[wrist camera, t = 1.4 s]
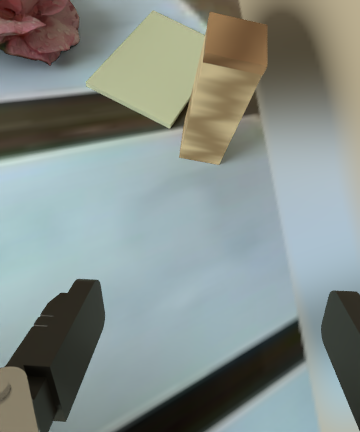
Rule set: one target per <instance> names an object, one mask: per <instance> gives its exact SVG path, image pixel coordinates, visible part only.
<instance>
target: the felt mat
mask: <svg viewBox="0 0 360 432" xmlns="http://www.w3.org/2000/svg"><path fill="white" fill-rule="evenodd" d="M204 38H205V35H203V34H201V33H199V32H197V31H195V30H193V29H190V28H188V27H186V26H184V25H182V24H180V23H178V22H176V21H174V20H172V19H170V18H168V17H166V16H164V15H162V14H159V13H157V12H155V11H152V12H151V13H150V14H149V15H148V16H147V17H146V18H145V20H144V21H143V22H142V23H141V24H140V25H139V26H138V27H137V28H136V29H135V30H134V31H133V32H132V33H131V34H130V35H129V37H128V38H127V39H126V40H125V41H124V42H123V43H122V44H121V45H120V46H119V47H118V48H117V49H116V50H115V51H114V53H113V54H112V55H111V56H110V57H109V58H108V59H107V60H106V61H105V62H104V63H103V64H102V65H101V66H100V67H99V68H98V70H97V71H96V72H95V73H94V74H93V75H92V76H91V77H90V78H89V79H88V80H87V81H86V86H87V87H89V88H91V89H93V90H94V91H96V92H98V93H100V94H102V95H104V96H106V97H108V98H110V99H112V100H114V101H116V102H118V103H120V104H122V105H124V106H126V107H128V108H130V109H132V110H134V111H136V112H138V113H140V114H142V115H144V116H146V117H148V118H150V119H152V120H154V121H156V122H158V123H160V124H161V125H163V126H165V127H167V128H169V129H170V128H171V126H172V125H173V123H174V122H175V120H176V119H177V118H178V116H179V115H180V113H181V112H182V110H183V109H184V107H185V106H186V104H187V103H188V101H189V100H190V97H191V93H192V88H193V84H194V80H195V76H196V72H197V67H198V63H199V59H200V55H201V51H202V46H203V42H204Z"/></svg>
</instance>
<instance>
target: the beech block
mask: <svg viewBox="0 0 360 432" xmlns="http://www.w3.org/2000/svg"><path fill="white" fill-rule="evenodd" d="M266 68H267V25H264V24H260V23H256V22H251V21H247V20H243V19H239V18H234V17H230V16H226V15H221V14H217V13H213V12H210V14H209V18H208V23H207V30H206V34H205V38H204V42H203V46H202V51H201V55H200V59H199V63H198V67H197V72H196V76H195V80H194V84H193V88H192V93H191V97H190V101H189V105H188V109H187V114H186V118H185V122H184V127H183V134H182V141H181V148H180V155H179V158H185V159H190V160H195V161H201V162H206V163H212V164H217V165H219V164H220V162H221V160H222V158H223V156H224V154H225V151H226V149H227V147H228V145H229V143H230V141H231V139H232V137H233V135H234V133H235V131H236V129H237V126H238V124H239V122H240V120H241V118H242V116H243V114H244V112H245V110H246V108H247V106H248V103H249V101H250V99H251V97H252V95H253V93H254V91H255V89H256V87H257V85H258V83H259V81H260V78H261V76H262V75H263V73H264V72H265V70H266Z"/></svg>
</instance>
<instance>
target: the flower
mask: <svg viewBox="0 0 360 432" xmlns="http://www.w3.org/2000/svg"><path fill="white" fill-rule="evenodd" d="M78 27H79V16H78V14H77V11H76V9H75V7H74V6H73V4H72V3H71V2H70V0H0V50H2V51H4V52H5V53H6V54H9V55H14V56H19V57H23V58H27V59H31V60H40V61H43V62H45V63H47V64H48V65H49V66H50V65H51V63H52V62H54V61H56V59H57V58H58V57H59V56H60V52H61V51H67V50H69V49H70V46H72V45H76V44H78V42H79V40H80V38H79V34H78Z"/></svg>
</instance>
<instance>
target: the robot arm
mask: <svg viewBox="0 0 360 432" xmlns="http://www.w3.org/2000/svg"><path fill="white" fill-rule="evenodd" d="M104 321H105V310H104V304H103V298H102V291H101V285H100V282H99V280H90V279H77V280H76V281H75V282H74V283H73V285H72V287H71V288H70V290H69V292H68V293H60V294H59V295H57V296H56V297H55V298H54V299H52V300H51V301H50V302H49V303H48V304H47V305H46V307H45V308H44V310H43V311H42V313H41V314H40V317H38V319H37V320H36V322H35V323H34V326H33V327H32V328H31V329H30V331H29V332H28V334H27V335H26V337H25V338H24V340H23V341H22V343H21V344H20V345H19V347H18V348H17V350H16V351H15V353H14V354H13V356H12V357H11V359H10V360H9V362H8V363H7V365H6V366H5V367H4V368H0V432H48V431H49V429H50V426H51V424H52V422H53V421H63V422H66V420H67V418H68V415H69V413H70V410H71V408H72V405H73V403H74V400H75V398H76V395H77V393H78V390H79V388H80V385H81V383H82V380H83V378H84V375H85V373H86V370H87V368H88V365H89V363H90V360H91V358H92V355H93V353H94V350H95V348H96V345H97V343H98V340H99V338H100V335H101V333H102V330H103V327H104ZM321 333H322V340H323V343H324V346H325V348H326V351H327V353H328V356H329V358H330V360H331V363H332V365H333V368H334V370H335V372H336V375H337V377H338V380H339V382H340V384H341V387H342V389H343V392H344V394H345V397H346V399H347V401H348V404H349V406H350V409H351V411H352V414H353V416H354V418H355V421H356V423H357V425H358V428H359V430H360V295H359V293H357V292H352V291H331V292H330V294H329V297H328V302H327V305H326V309H325V313H324V317H323V321H322V325H321Z"/></svg>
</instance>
